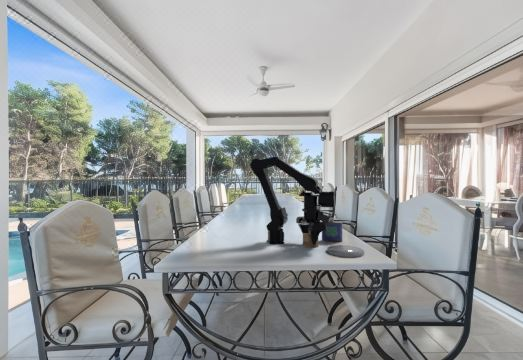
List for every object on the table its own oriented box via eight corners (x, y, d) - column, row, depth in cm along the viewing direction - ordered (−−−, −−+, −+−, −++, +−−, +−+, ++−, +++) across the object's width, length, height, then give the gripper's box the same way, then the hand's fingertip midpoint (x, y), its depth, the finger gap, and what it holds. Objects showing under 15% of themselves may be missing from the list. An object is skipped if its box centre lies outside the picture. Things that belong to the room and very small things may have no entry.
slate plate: (338, 258, 104) (338, 255, 103) (321, 248, 117) (321, 246, 117) (371, 255, 107) (371, 252, 107) (351, 246, 121) (351, 243, 121)
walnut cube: (307, 247, 119) (307, 235, 119) (302, 244, 124) (302, 233, 124) (318, 246, 121) (318, 235, 120) (313, 244, 125) (313, 232, 125)
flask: (342, 240, 131) (342, 217, 130) (342, 242, 128) (342, 218, 127) (322, 239, 133) (321, 217, 133) (321, 241, 130) (321, 218, 130)
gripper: (338, 208, 115) (338, 247, 115) (318, 203, 133) (317, 236, 133) (313, 209, 112) (313, 249, 113) (295, 204, 130) (295, 238, 131)
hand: (310, 242), depth 122 cm, fingers open, 7 cm apart
